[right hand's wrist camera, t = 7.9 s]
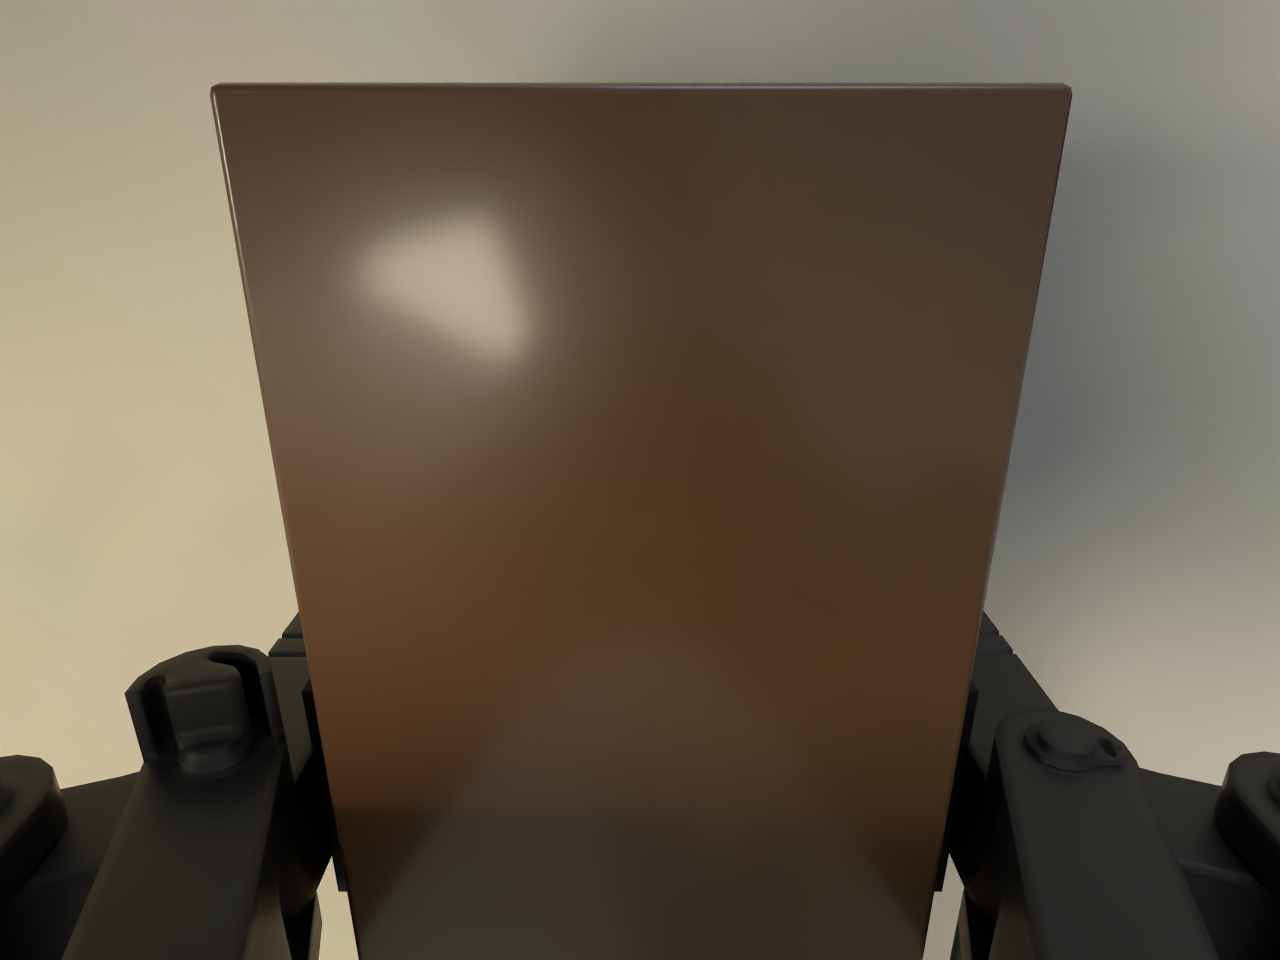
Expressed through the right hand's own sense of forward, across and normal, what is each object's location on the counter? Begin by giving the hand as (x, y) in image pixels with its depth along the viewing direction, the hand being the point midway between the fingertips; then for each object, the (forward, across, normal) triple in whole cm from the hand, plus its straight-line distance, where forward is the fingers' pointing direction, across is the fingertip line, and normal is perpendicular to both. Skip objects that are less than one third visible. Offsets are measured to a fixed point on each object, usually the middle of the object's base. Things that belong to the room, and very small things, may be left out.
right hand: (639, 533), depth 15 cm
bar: (0, 0, -31) cm, 31 cm away
